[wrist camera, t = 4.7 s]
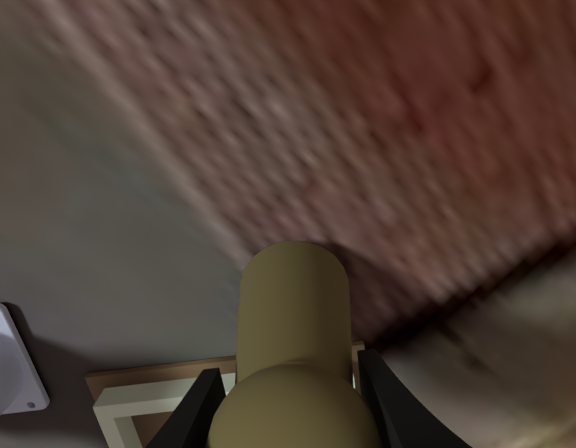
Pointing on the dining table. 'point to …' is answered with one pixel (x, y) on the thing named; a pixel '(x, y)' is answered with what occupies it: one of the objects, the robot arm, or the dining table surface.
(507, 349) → the dining table surface
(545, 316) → the dining table surface
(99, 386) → the board
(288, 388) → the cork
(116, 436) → the walled square frame
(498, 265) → the dining table surface
